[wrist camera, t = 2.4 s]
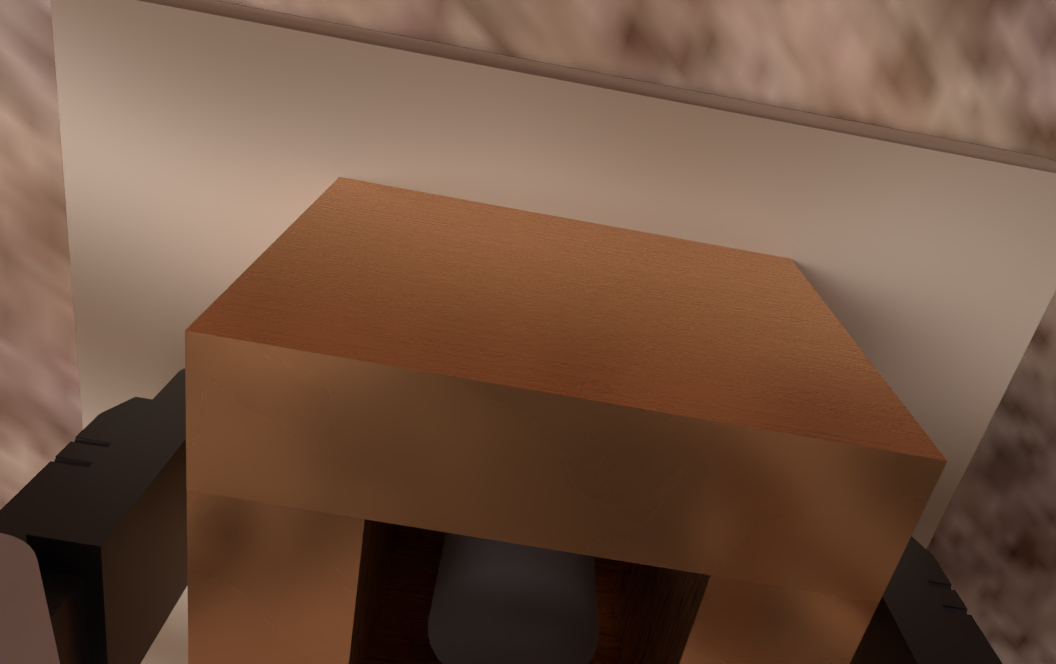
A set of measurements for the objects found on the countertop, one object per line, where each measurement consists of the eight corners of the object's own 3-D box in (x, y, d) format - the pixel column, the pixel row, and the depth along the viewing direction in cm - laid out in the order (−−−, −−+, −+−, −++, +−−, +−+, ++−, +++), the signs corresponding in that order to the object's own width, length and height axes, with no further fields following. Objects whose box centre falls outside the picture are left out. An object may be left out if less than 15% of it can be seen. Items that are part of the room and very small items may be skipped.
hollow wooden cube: (338, 176, 11) (184, 330, 6) (790, 258, 11) (947, 461, 7) (311, 539, 14) (189, 827, 9) (675, 597, 14) (732, 904, 9)
